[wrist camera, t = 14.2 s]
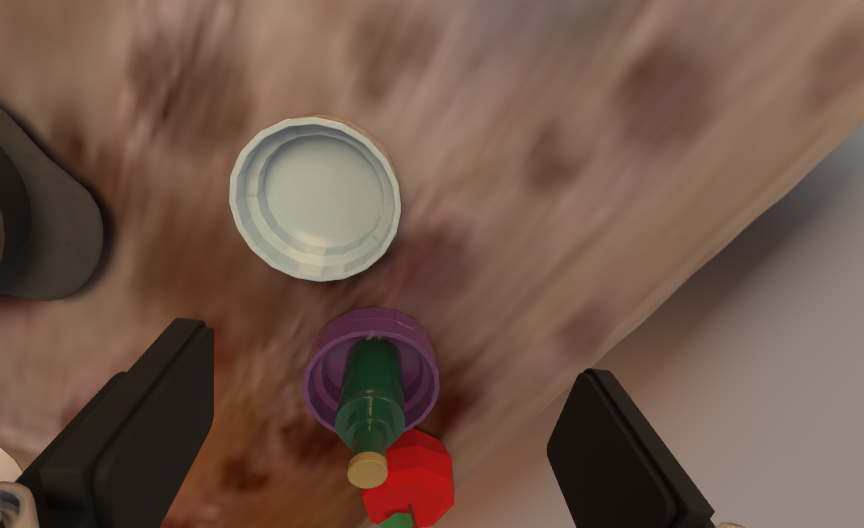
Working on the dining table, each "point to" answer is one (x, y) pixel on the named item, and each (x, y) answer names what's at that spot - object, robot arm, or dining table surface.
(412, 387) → the plum bowl
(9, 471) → the cylinder
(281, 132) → the pale bowl
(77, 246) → the casserole
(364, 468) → the bottle
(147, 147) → the dining table surface
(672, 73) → the dining table surface
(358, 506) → the dining table surface
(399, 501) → the apple
